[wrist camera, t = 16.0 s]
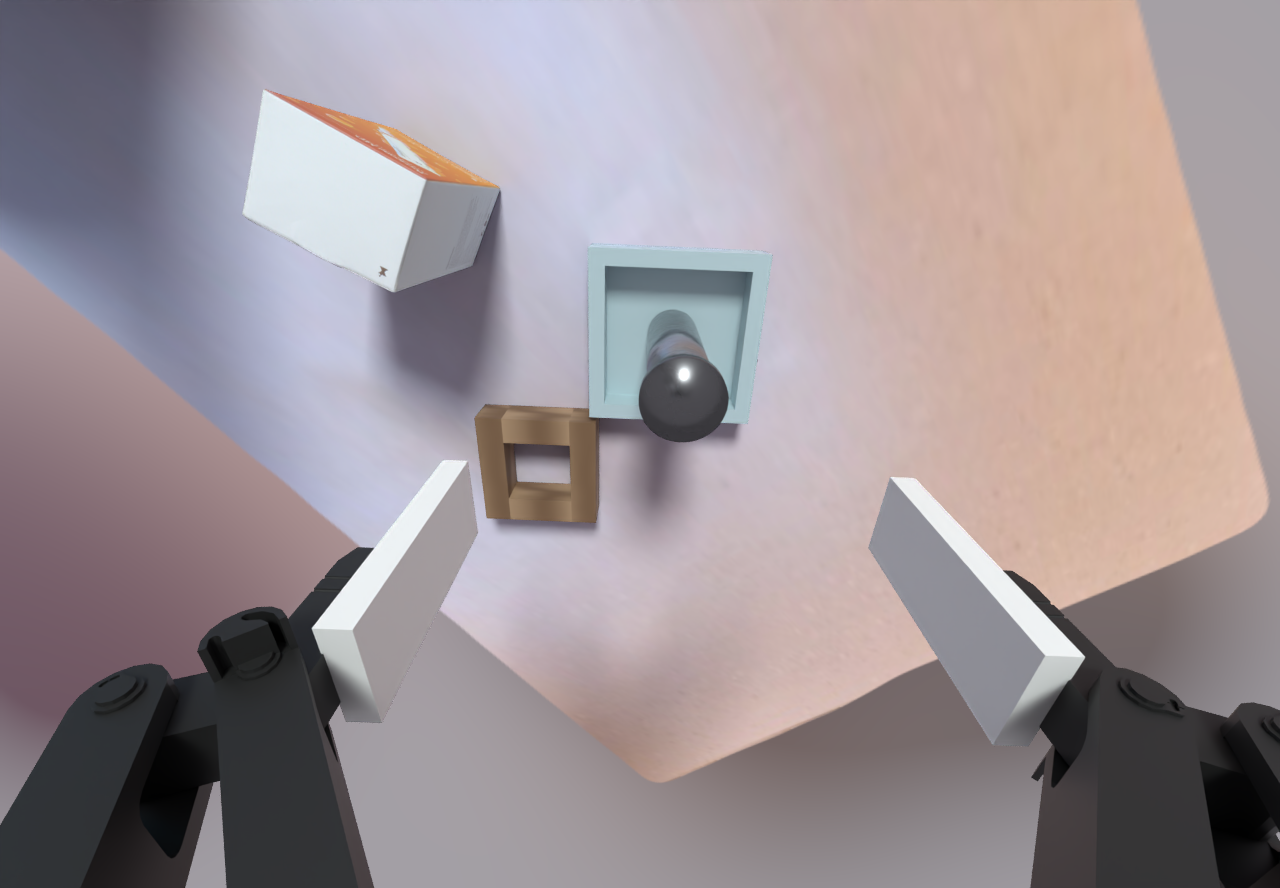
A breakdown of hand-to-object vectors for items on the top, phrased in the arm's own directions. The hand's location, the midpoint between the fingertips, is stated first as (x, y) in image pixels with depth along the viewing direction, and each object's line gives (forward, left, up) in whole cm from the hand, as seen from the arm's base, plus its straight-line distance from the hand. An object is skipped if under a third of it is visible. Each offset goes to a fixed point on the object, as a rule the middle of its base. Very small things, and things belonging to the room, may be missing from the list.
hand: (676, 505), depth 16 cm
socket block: (-10, -13, -27) cm, 31 cm away
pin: (+1, -1, -26) cm, 26 cm away
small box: (-17, +8, -27) cm, 33 cm away
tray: (+1, -1, -27) cm, 27 cm away
